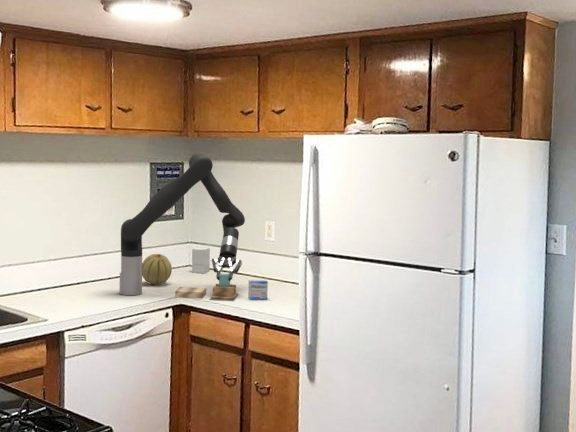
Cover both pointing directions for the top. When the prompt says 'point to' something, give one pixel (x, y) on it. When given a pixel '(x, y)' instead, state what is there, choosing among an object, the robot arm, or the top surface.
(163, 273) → the cantaloupe
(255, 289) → the medicine box
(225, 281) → the teal block
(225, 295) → the brown wooden box
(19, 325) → the top surface
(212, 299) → the mat
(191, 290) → the light wooden block
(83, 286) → the top surface
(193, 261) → the supplement box
